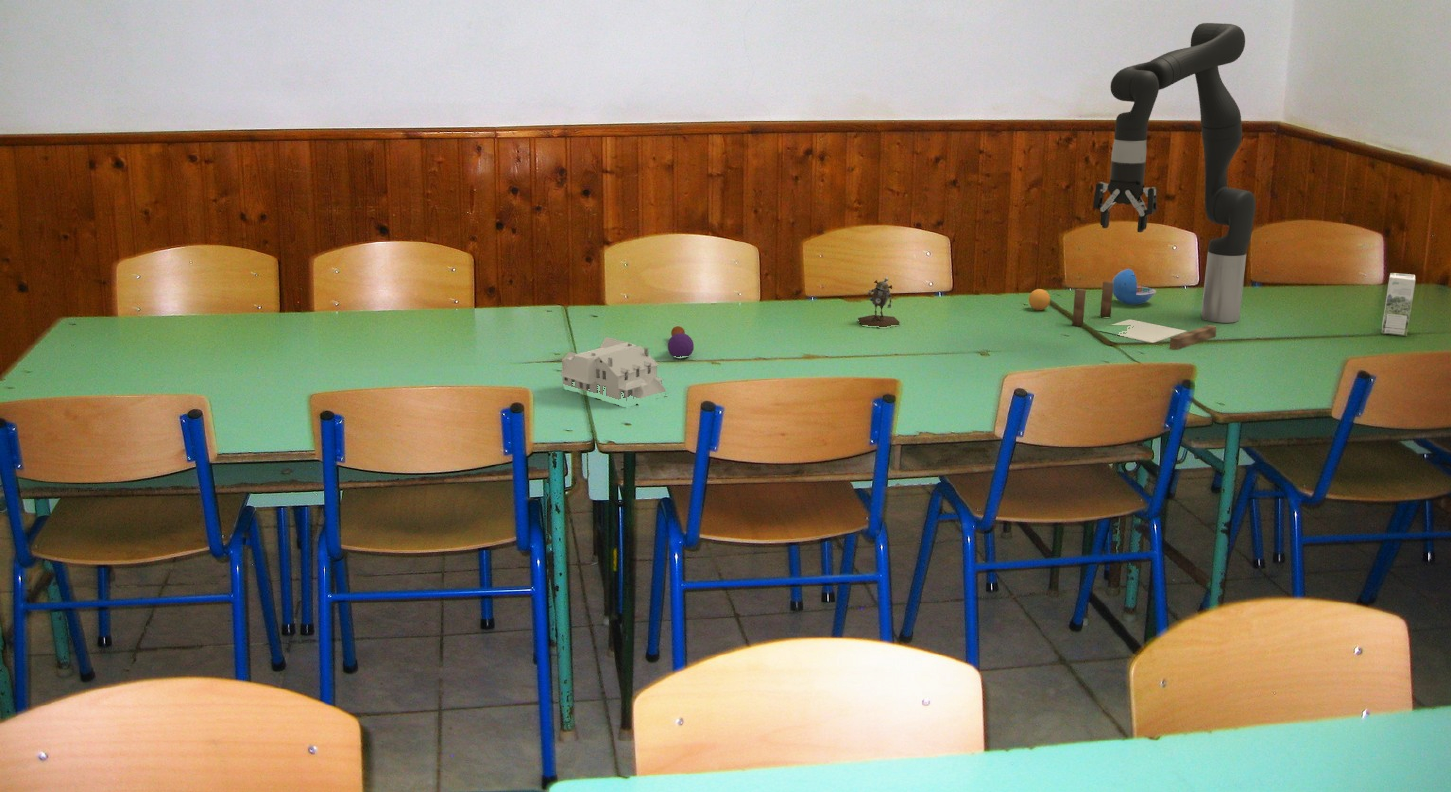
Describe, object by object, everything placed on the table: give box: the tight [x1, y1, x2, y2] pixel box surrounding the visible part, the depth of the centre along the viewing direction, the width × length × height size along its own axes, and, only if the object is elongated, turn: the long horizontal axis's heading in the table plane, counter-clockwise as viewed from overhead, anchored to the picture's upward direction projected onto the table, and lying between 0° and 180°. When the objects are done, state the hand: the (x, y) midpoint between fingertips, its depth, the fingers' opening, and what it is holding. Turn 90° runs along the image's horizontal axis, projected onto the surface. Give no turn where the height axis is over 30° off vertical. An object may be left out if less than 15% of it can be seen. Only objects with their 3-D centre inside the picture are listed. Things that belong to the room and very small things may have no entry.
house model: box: [560, 336, 666, 401], centre depth 292 cm, size 19×20×10 cm
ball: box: [1028, 288, 1051, 311], centre depth 363 cm, size 6×6×6 cm
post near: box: [1072, 288, 1087, 327], centre depth 347 cm, size 3×3×9 cm
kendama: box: [667, 325, 695, 357], centre depth 324 cm, size 6×6×20 cm
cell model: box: [1111, 268, 1157, 306], centre depth 369 cm, size 10×12×10 cm
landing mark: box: [1111, 318, 1188, 344], centre depth 342 cm, size 16×16×1 cm
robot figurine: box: [857, 276, 900, 327], centre depth 347 cm, size 11×9×12 cm
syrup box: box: [1381, 272, 1416, 337], centre depth 340 cm, size 6×6×14 cm
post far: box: [1099, 281, 1114, 318], centre depth 355 cm, size 3×3×9 cm
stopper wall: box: [1169, 324, 1217, 350], centre depth 332 cm, size 18×2×2 cm, turn 133°
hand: (1122, 229), depth 321 cm, fingers open, 8 cm apart
